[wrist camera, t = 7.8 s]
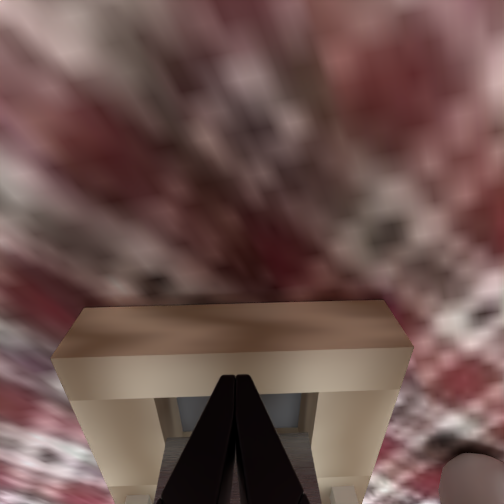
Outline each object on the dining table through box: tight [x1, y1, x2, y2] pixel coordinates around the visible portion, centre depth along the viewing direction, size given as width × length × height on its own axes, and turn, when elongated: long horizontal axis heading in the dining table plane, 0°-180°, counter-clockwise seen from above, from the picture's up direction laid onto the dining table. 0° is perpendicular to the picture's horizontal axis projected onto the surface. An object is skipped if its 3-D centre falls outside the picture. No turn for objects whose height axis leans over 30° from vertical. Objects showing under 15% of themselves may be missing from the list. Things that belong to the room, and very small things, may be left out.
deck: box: [50, 300, 414, 504], centre depth 20 cm, size 14×29×3 cm, turn 0°
